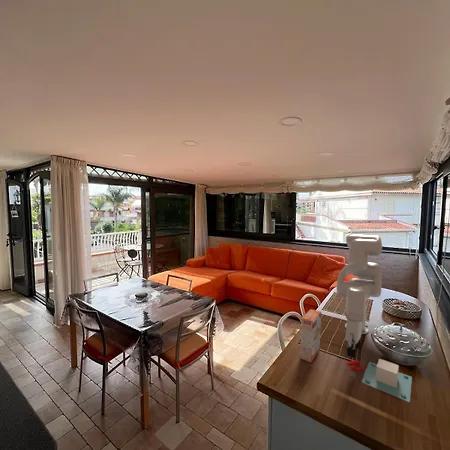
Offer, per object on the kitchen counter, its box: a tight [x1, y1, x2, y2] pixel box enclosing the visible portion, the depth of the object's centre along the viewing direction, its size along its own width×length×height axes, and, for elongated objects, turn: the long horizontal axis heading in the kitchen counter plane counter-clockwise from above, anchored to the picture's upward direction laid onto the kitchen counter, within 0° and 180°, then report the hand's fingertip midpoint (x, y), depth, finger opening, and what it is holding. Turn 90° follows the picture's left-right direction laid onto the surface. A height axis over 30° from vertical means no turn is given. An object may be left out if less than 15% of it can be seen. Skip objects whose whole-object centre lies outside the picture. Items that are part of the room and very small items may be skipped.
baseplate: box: [361, 361, 413, 403], centre depth 100 cm, size 18×16×2 cm
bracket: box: [344, 359, 365, 371], centre depth 108 cm, size 6×5×3 cm
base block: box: [376, 358, 400, 388], centre depth 100 cm, size 7×7×6 cm
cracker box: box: [299, 309, 322, 363], centre depth 119 cm, size 14×6×21 cm, turn 142°
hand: (353, 351), depth 107 cm, fingers open, 9 cm apart
